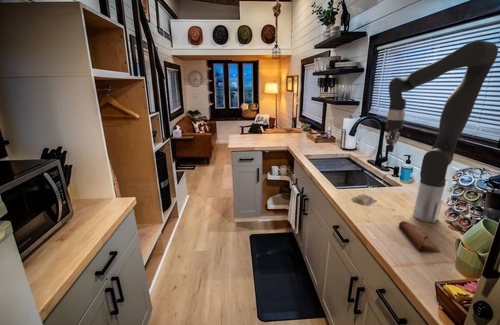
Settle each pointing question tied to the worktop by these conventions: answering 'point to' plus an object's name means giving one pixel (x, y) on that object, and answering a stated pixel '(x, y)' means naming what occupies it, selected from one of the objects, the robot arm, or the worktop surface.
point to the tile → (363, 199)
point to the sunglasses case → (419, 238)
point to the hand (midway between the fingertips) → (390, 151)
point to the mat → (367, 203)
